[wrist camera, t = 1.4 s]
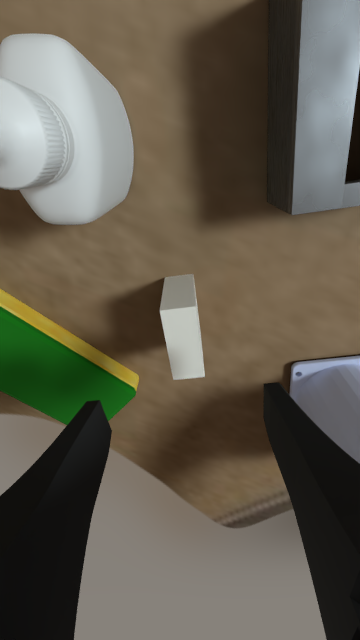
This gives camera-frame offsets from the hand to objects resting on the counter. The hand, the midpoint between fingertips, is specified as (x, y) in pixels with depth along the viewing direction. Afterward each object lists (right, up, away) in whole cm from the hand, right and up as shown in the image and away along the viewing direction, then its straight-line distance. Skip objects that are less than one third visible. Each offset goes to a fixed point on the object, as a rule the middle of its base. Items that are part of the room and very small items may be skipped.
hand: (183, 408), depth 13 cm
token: (0, +5, +9) cm, 10 cm away
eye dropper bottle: (-4, +14, +4) cm, 15 cm away
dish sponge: (-11, +1, +12) cm, 16 cm away
